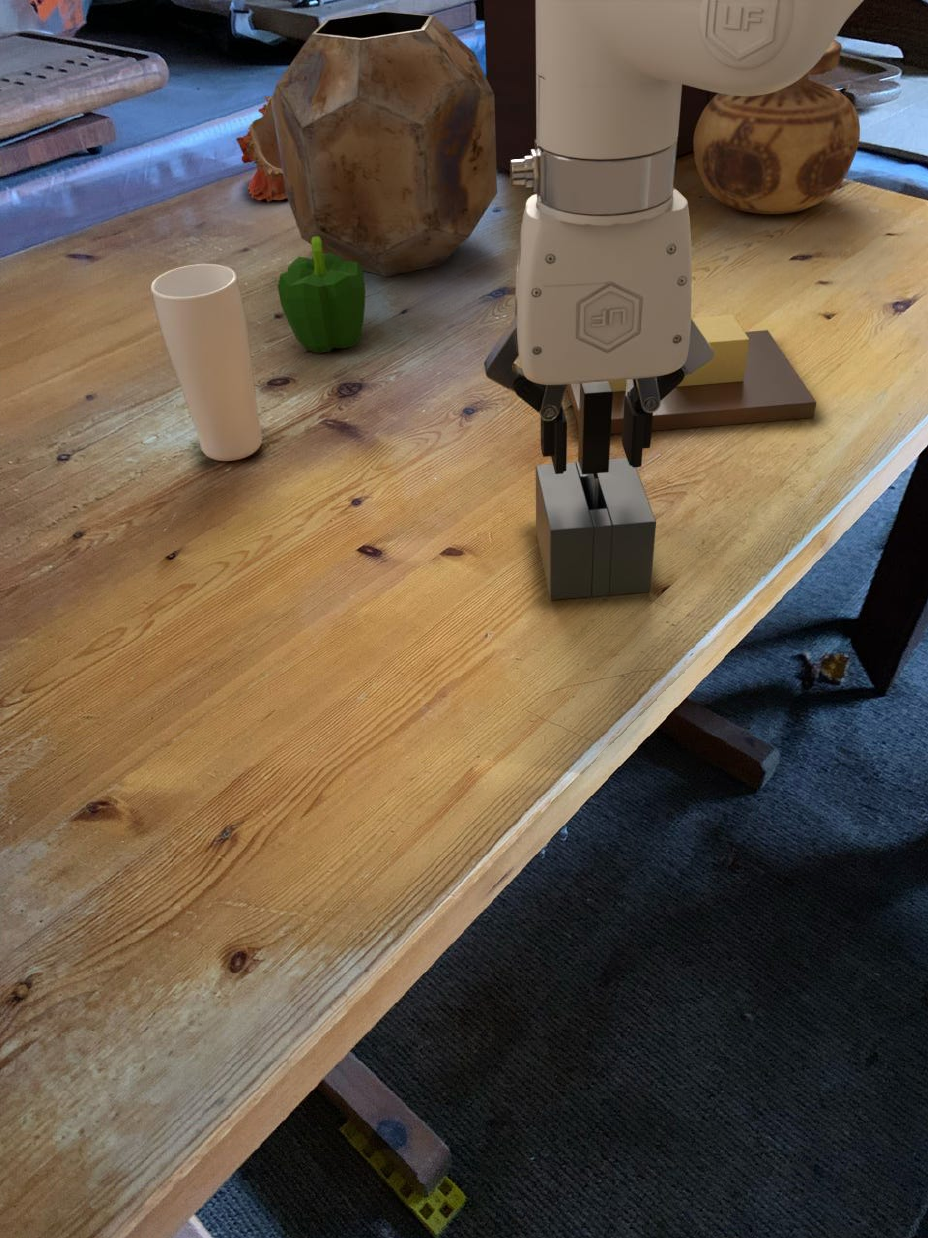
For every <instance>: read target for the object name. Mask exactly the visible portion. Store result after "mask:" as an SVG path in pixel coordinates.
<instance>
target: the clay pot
mask: <svg viewBox="0 0 928 1238" xmlns="http://www.w3.org/2000/svg"><path fill="white" fill-rule="evenodd" d="M841 52H842V43H840V41H837V40H836V39H834V40H833V41H832V43H831V44H830V46H829V47H828V49H827V50H826V52H825V53H824V55H823V56H822V57H821V59H820V60H819V61H818V62H817V63H816V65H815V66H814V67H813V68H812V69H811V70H810V71H808V72H807V73H806V74H805V75H804V76H803V77H801V78H800V79H799V80H797V81H796V82H794V83H793V84H791V85H789V86H787V87H785V88H783V89H781V90H778V91H776V92H773V93H769V94H764V95H758V96H734V95H726V94H721V93H717V95H716V96H715V97H714V98H713V99H712V100H711V101H710V102H709V103H708V104H707V106H706V107H705V108H704V110H703V112H702V114H701V116H700V118H699V120H698V123H697V125H696V128H695V133H694V141H693V145H694V151H693V156H694V162H695V166H696V169H697V172H698V175H699V178H700V179H701V182H702V183H703V185H704V187H705V188H706V189H707V191H708V193H710V194H711V195H712V196H713V197H714V198H715V199H716V200H718V202H720V203H721V204H723V205H725V206H727V207H729V208H732V209H735V210H739V211H741V212H746V213H751V214H752V213H753V214H762V215H783V214H791V213H792V214H793V213H797V212H802V211H805V210H807V209H810V208H813V206H816V205H818V204H820V203H821V202H823V201H824V200H826V199H828V198H829V197H830V196H831V195H833V193H835V191H837V189H838V188H840V186H841V184H842V182H843V181H844V179H845V177H846V176H847V174H848V172H849V170H850V168H851V166H852V164H853V161H854V159H855V157H856V154H857V150H858V147H859V143H860V138H861V125H860V116H859V114H858V111H857V109H856V107H855V106H854V104H853V103H852V102H851V100H850V99H849V98H848V97H847V96H846V95H845V94H843V93H842V92H841V91H839V90H837V89H836V88H834V87H832V86H830V85H828V84H825V83H822V82H820V81H816V80H812V79H810V78H809V76H816V75H824V74H825V73H828V72H832V71H833V70H834V69H835V68H836V67H837V66H838V65H839V63H840V57H841Z"/></svg>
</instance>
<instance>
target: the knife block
mask: <svg viewBox="0 0 928 1238" xmlns="http://www.w3.org/2000/svg"><path fill="white" fill-rule="evenodd" d="M637 468H638V467H635V468H633V467H632V466H630V465H629V463H628V460H627V457H618V458H609V472H606V473H597V474H598V477H599V489H598V509H594V510H590V511H589V508H588V504H587V501H586V480H587V474H582V473H581V469H580V466H579V462H578V461H573V462H571V461H570V462H567V464H566V471H564V473H563V474H555V471H554V467H553V463H547V464H536V465H535V533H536V537H537V544H538V548H539V552H540V557H541V558H540V559H541V563H542V568H543V572H544V577H545V583H546V587H547V591H548V596H549V600H550V601H554V600H555V601H556V600H557V601H558V600H567V599H569V600H570V599H579V598H590V597H592V598H594V597H603V596H605V597H607V596H615V595H617V596H618V595H625V594H627V595H628V594H639V593H649V592H651V585H652V576H653V575H652V574H653V573H652V572H653V562H654V552H655V551H654V550H655V541H656V539H655V538H656V529H657V521H656V518H655V515H654V513H653V510H652V507H651V504H650V501H649V498H648V496H647V493H646V491H645V487H644V485H643V482H642V479H641V476H640V474H639V471H638V469H637Z"/></svg>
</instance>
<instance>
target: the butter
mask: <svg viewBox="0 0 928 1238" xmlns="http://www.w3.org/2000/svg"><path fill="white" fill-rule="evenodd" d="M692 319H693V320H694V322H695V323H696V325H697V326H698V328H699V329H700V331H701V332H702V334H703V335H704V337H705V338H706V340H707V341H708V343H709V344H710V346H711V348H712V350H713V352H714V355H713V358H712V359H711V360H710V361H709V362H707V363H706V364H704V365H703V366H701V367H700V368H698V369H697V370H696V371H694V372H693V373H691V374H690V375H689V374H688V375H686V376H685V377H684V379H683V381H682V382H681V383H680V384H679V385H678V386H677V387H680V386H693V385H705V384H717V383H729V382H741V381H743V380H744V373H745V366H746V359H747V352H748V345H749V338H748V337H747V335H746V333H745V332H746V331H745V330H744V328H743V326H741V324H740V322H739V321H738V319H737V317H736V316H735V315H734V314H724V315H723V314H722V315H711V316H700V317H692Z"/></svg>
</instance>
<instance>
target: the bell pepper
mask: <svg viewBox="0 0 928 1238" xmlns="http://www.w3.org/2000/svg"><path fill="white" fill-rule="evenodd" d="M311 243H312V245H311V250H312V251H311V252H312V258H311V257H310V258H309V257H303V256H297V257H296V258H295V259H294V261H292V262H291V263H290V264H289V266H287V271H285V272H283V273H281V274H280V275H279V278H278V283H277V291H278V295H279V300H280V301H279V302H280V305H281V308H282V311H283V312H284V316H285V318H286V320H287V323H288V325H289V328H290V329H291V331H292V333H293V335H294V337H295V339H296V340H297V341H298V342H299V344H301V346H303V347H304V348H305V349H306V350H307V351H309V352H313V353H318V354H321V353H327V352H330V351H332V350H333V349H334V348H335V349H346V348H347V349H348V348H352V347H353V346H354V345H356V344H357V343H358V342H359V340H360V339H361V337H362V333H363V326H364V318H365V309H366V308H365V307H366V286H365V275H364V271H362V269H361V268H360V266H359V264H358V262H352V261H343V260H342V259H341V258H340V257H338V256H336V255H334V254H332V253H330V252H329V253H327V254H325V253H324V252H323V249H322V240H321V238H320V237H318V236H317V237H313V238H312V239H311Z"/></svg>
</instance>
